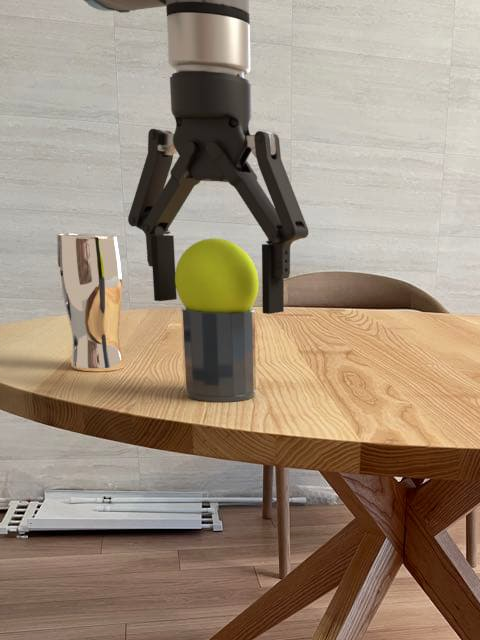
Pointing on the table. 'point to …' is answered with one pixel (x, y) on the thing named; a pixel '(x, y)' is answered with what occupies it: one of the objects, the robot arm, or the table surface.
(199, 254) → the ball
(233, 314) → the cup
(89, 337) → the beer glass
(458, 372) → the table surface
